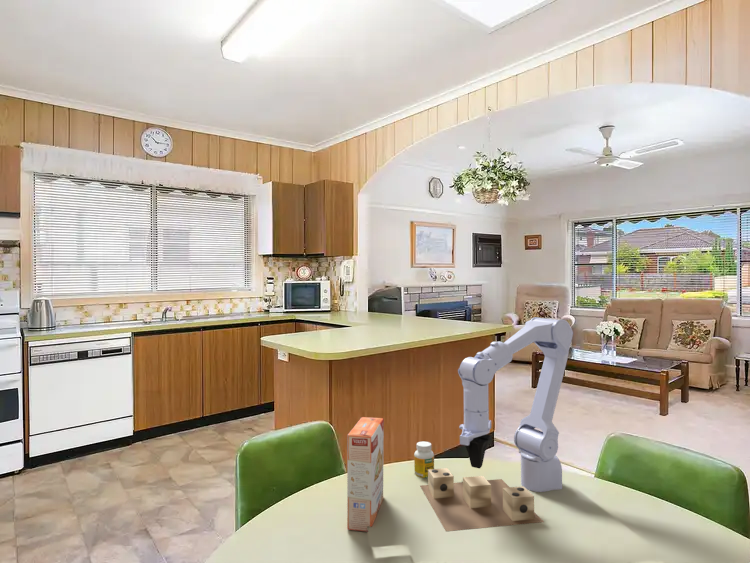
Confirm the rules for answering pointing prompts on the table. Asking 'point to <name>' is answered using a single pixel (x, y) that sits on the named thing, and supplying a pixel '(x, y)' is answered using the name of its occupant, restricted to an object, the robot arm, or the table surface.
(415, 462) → the supplement bottle
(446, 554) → the table surface
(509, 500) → the pip cube 2
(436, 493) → the pip cube
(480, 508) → the walnut board
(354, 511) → the cracker box
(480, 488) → the blank cube
